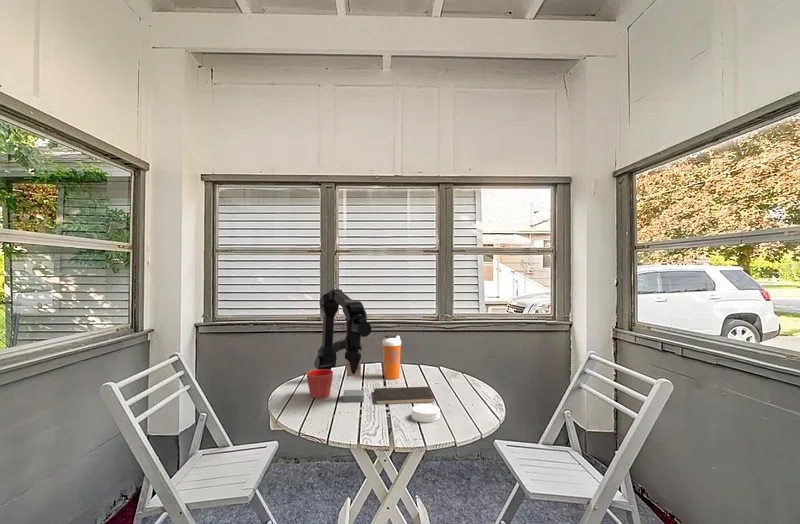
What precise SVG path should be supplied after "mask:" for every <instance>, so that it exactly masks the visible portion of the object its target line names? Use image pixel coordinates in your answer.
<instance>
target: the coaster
mask: <svg viewBox="0 0 800 524" xmlns="http://www.w3.org/2000/svg"><path fill="white" fill-rule="evenodd" d="M440 410H441V409H440V407H439V406H437V405H434V404H429V403H424V404H423V403H421V404H416V405H414V406H412V408H411V418H412V419H411V420H413V421H415V422H418V423H434V422H437V421H439V420H440V417H441V416H440V414H441V413H440Z"/></svg>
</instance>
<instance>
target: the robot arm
mask: <svg viewBox="0 0 800 524" xmlns="http://www.w3.org/2000/svg"><path fill="white" fill-rule="evenodd" d="M339 306H340V307H341V308H342V313H343V314H344V317H345V319H344V321H345V322H346V323H345V324H346V325H345V326H346V327H345V329H346V331H345V332H346V334H345V338H344V339H340V340H337V341H334V328H335V327H334V326H335V316H336V314H337V313H338V311H339ZM319 307H320V311H321V312H322V314H323V318H322V321H323V322H322V335H321V336H322V338H321V339H322V340H321V341H322V342H321V346H320V348H319V349H318V351H317V356H316V358H315V361H314V363H313V364H314V365H313V366H314V368H315V369H316V370H319V369H327V370H331V371H332V368H336V366H337V358H338V357H337V353H338V352H340V351H342V350H344V351H345V352H344V359H345V360H346V361H347V360H348V361H349V362H350V366H351V371H352V374H355V372H356V370H357V367H358V364H359V362H360V359H361V360H362V350H363V349H362V344H361V343H362V342H361V341H362V340H361V339H362V338H363V337H364V338H365V337H368V336H370V334H371V333H372V326H371V323H369V322H368V314H367V312H366V309H365V306H364V305H363V302H361V301H359V300H355V299H352V298H351V297H349V296H348V295H347V294H346V293H345V292H343V290H342V289H339V288H335V289H331V290H329V291H328V292H326V293H325V294H323V295H322V296H321V297H320V299H319ZM332 380H333V376H332Z"/></svg>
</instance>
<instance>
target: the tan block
mask: <svg viewBox="0 0 800 524" xmlns="http://www.w3.org/2000/svg"><path fill="white" fill-rule="evenodd" d="M361 363H362V358H361V359H360V362H359V364H358V367H357V370H356V372H355V374H352V371H351V366H350V362H349V361H348V360H347V359H346V377H361V375H362V364H361Z"/></svg>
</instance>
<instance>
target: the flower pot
mask: <svg viewBox="0 0 800 524" xmlns="http://www.w3.org/2000/svg"><path fill="white" fill-rule="evenodd" d="M333 375H334V371H333V370H332V369H331V370H327V369H313V370H308V371H307V372H306V380H307V385H308V389H309V396H310V397H311V398H312V399H315V400H316V399H317V400H318V399H325V398H328V397H330V395H331V388H332V382H333V379H332V377H333Z"/></svg>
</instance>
